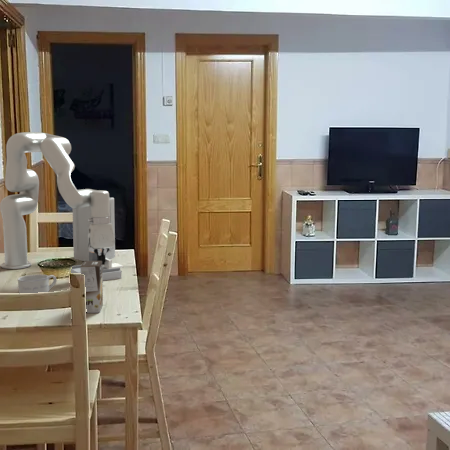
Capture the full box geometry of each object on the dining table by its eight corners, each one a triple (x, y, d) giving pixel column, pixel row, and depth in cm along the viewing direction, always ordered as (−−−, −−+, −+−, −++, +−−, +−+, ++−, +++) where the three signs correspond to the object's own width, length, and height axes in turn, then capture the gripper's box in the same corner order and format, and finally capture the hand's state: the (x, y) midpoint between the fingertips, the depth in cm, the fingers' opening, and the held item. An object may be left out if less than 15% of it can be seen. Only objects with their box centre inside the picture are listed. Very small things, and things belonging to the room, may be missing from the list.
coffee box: (100, 313, 212) (99, 266, 209) (81, 313, 211) (79, 266, 208) (103, 305, 221) (102, 260, 218) (84, 305, 220) (83, 260, 217)
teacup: (21, 303, 221) (20, 281, 220) (15, 296, 231) (15, 274, 229) (61, 299, 228) (60, 277, 226) (54, 292, 237) (53, 271, 236)
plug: (89, 269, 274) (88, 248, 273) (98, 268, 277) (97, 247, 275) (92, 271, 271) (92, 250, 270) (101, 269, 273) (101, 249, 272)
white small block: (102, 265, 266) (101, 257, 266) (116, 264, 270) (116, 255, 269) (108, 269, 260) (108, 260, 260) (123, 267, 264) (123, 258, 264)
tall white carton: (73, 263, 286) (71, 201, 281) (74, 256, 300) (72, 198, 295) (116, 261, 290) (115, 201, 285) (114, 255, 304) (113, 197, 299)
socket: (69, 275, 263) (69, 265, 263) (105, 270, 272) (105, 261, 272) (84, 283, 250) (84, 273, 250) (121, 278, 259) (121, 268, 259)
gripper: (86, 223, 252) (87, 268, 255) (121, 220, 260) (121, 263, 263) (79, 220, 258) (80, 264, 261) (113, 218, 266) (114, 260, 269)
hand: (101, 264), depth 262 cm, fingers closed
